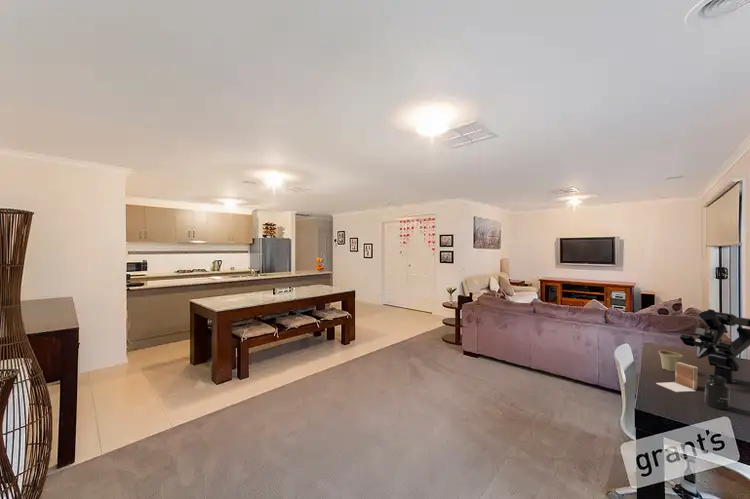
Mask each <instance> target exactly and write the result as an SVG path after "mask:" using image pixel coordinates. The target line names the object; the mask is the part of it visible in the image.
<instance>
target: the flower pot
mask: <svg viewBox="0 0 750 499" xmlns="http://www.w3.org/2000/svg"><path fill="white" fill-rule="evenodd" d="M658 353H659V356H660V362H661V369H663V370H666V371H668V372H674V373H675V369H676V362H681V360H682V358H683V356H684V355H682V354H680V353H677V352H673V351H668V350H658Z"/></svg>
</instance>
